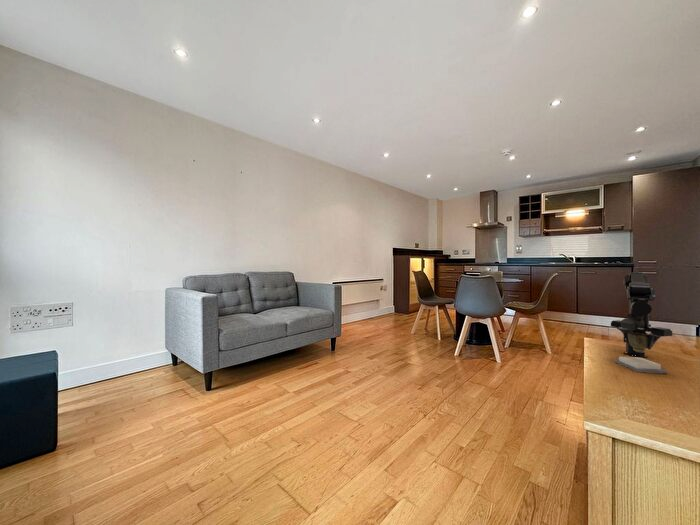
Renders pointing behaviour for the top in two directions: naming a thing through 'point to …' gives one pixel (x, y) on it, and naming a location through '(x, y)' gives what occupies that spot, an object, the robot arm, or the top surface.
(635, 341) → the cup
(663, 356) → the top surface
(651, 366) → the stand
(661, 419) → the top surface
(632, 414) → the top surface
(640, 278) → the robot arm
